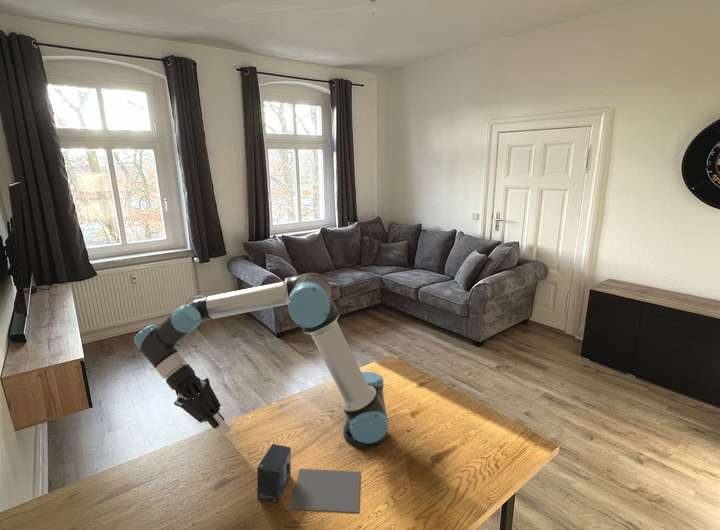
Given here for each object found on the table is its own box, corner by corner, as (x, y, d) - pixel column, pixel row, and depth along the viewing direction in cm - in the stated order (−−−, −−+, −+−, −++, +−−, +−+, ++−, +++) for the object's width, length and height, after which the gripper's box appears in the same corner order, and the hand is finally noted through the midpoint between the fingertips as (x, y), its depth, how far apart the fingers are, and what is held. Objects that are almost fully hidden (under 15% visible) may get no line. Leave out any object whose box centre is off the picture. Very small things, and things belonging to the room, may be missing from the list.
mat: (360, 472, 122) (360, 471, 122) (358, 513, 107) (358, 512, 107) (299, 469, 122) (299, 468, 122) (290, 509, 107) (290, 508, 107)
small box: (278, 503, 109) (277, 471, 107) (256, 499, 110) (255, 467, 108) (291, 476, 119) (291, 446, 117) (272, 472, 120) (271, 442, 118)
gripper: (184, 368, 122) (232, 426, 122) (152, 388, 110) (205, 453, 109) (198, 355, 120) (247, 414, 119) (166, 375, 108) (220, 441, 107)
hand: (226, 433), depth 114 cm, fingers closed
